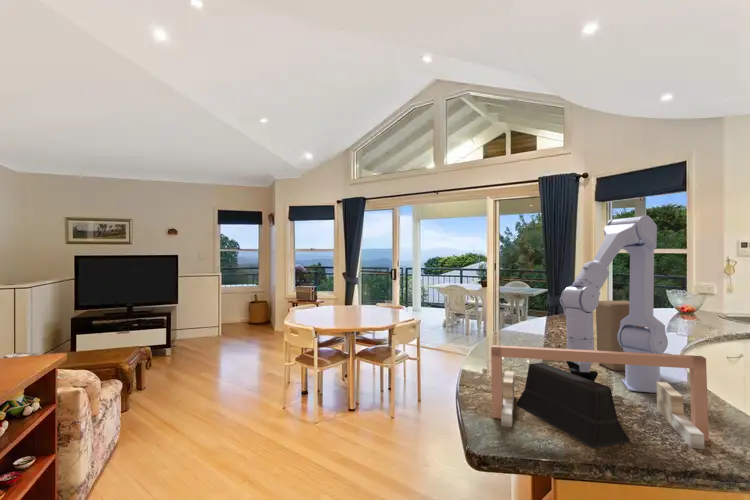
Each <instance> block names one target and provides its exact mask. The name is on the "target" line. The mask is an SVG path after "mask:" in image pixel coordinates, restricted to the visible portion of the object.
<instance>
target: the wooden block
mask: <svg viewBox="0 0 750 500" xmlns="http://www.w3.org/2000/svg"><path fill="white" fill-rule="evenodd" d="M628 315H629V300H599V304H598V307H596V309H595V323H596V324H595V325H596V328H595V329H596V330H595V332H596V351H615V352H625V351H623V348H622V347H621V346H620V344H619V342H618V332H619V329H620V321H621V320H622V319H624V318H625V317H626V316H628ZM634 327H642V328H646V327H643V326H636V325H635V326H634ZM598 364H599V365H601V366H604V367H606V368H608V369H610V370H612V371H615V372H616V371H617V372H618V371H620V372H621V371H625V364H610V363H598Z"/></svg>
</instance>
